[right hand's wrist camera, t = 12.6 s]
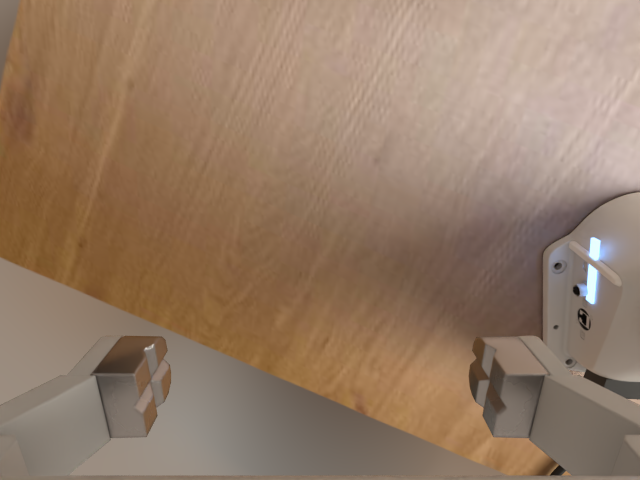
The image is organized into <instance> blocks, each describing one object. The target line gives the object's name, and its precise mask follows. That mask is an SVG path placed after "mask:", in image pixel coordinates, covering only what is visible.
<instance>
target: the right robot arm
mask: <svg viewBox="0 0 640 480" xmlns="http://www.w3.org/2000/svg"><path fill="white" fill-rule="evenodd" d="M556 263H558V265H557V266H556V267H554V265H555V264H556ZM472 351H473V352H474V354H475V356H476V360H475V361H474V362H473V363H472V364H471V365H470V370H469V383H470V389H471V392H472V395H473V397H474V399H475V402H476V403H478V404H479V405H481V406H482V407H483V408H484V410H483V417H484V419H485V421H486V423H487V425H488V427H489V429H490V431H491V433H492V435H493V437H508V438H530V439H529V440H530V441H531V442H533V443H534V444H535V445H536V446H537V447H539V448H540V449H541V450H542V451H543V452H545V453H546V454H547V455H548V456H549V457H551V458H552V459H553V460H554V461H555V462H557V463H558V464H559V466H558V467H557V468H556V469H555V470H554V471H553V472H552V473H551V475H550V476H68V475H69V474H70V473H72V472H73V471H74V470H75V469H76V468H78V467H79V466H80V465H81V464H82V463H84V462H85V461H86V460H87V459H88V458H90V457H91V456H92V455H93V454H94V453H95V452H97V451H98V450H99V449H100V448H102V447H103V446H104V445H105V444H106V443H108V442H109V441H110V440H111V439H110V438H132V437H147V435H148V433H149V431H150V429H151V427H152V425H153V423H154V421H155V419H156V417H157V410H156V408H157V407H158V406H159V405H161V404H162V403H164V401H165V399H166V397H167V395H168V393H169V388H170V384H171V370H170V365H169V364H168V363H167V362H166V361H165V360H164V356H165V354H166V352H167V345H166V340H165V339H164V338H163V337H156V336H104V337H101V338H100V339H99V340H98V341H97V343H96V344H95V345H94V346H93V347H92V348H91V349H90V350H89V351H88V352H87V354H86V355H85V356H84V357H83V358H82V359H81V360H80V361H79V362H78V364H77V365H76V366H75V367H74V368H73V369H72V370H71V371H70V372H69V373H68V375H61V376H58V377H56V378H54V379H52V380H50V381H48V382H46V383H44V384H42V385H40V386H38V387H36V388H34V389H32V390H30V391H28V392H26V393H24V394H22V395H20V396H18V397H16V398H14V399H12V400H10V401H8V402H6V403H4V404H2V405H0V480H640V405H638V404H636V403H634V402H632V401H630V400H628V399H640V192H636V193H631V194H627V195H624V196H621V197H618V198H615V199H613V200H611V201H609V202H607V203H605V204H604V205H602V206H600V207H599V208H597V209H596V210H595V211H593V212H592V213H591V214H590V215H588V216H587V217H586V218H585V219H584V220H583V221H582V222H581V223H580V224H579V225H578V226H577V228H576V229H575V230H574V231H572V232H571V233H570V234H569V235H567V236H565V237H563V238H561V239H560V240H558V241H556V242H554V243H553V244H551V245H550V246H548V247H547V248H546V250H545V251H544V253H543V341H542V340H541V339H540V338H539V337H537V336H514V337H476V339H475V341H474V345H473V350H472ZM566 360H567V361H566ZM569 370H573V371H579V372H585V374H584V377H582V376H580V375H572V373H571V372H570V371H569ZM565 471H567V472H568V473H570V474H571V475H572V476H561V475H562V474H563V473H564V472H565Z"/></svg>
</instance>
